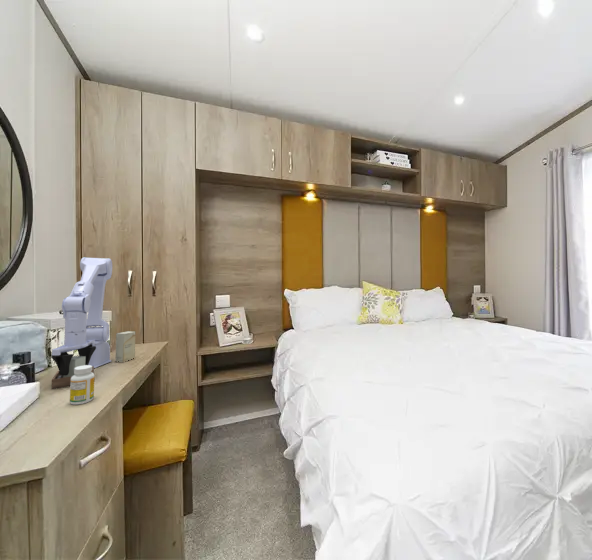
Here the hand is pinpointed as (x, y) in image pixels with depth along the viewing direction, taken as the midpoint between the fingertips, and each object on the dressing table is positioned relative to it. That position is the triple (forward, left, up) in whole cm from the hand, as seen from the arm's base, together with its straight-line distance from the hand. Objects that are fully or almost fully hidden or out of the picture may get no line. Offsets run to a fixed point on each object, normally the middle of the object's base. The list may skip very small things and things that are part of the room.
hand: (74, 371), depth 89 cm
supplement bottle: (+14, +15, -4) cm, 21 cm away
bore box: (0, 0, -3) cm, 3 cm away
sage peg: (0, 0, -3) cm, 3 cm away
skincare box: (-25, 0, -4) cm, 25 cm away
